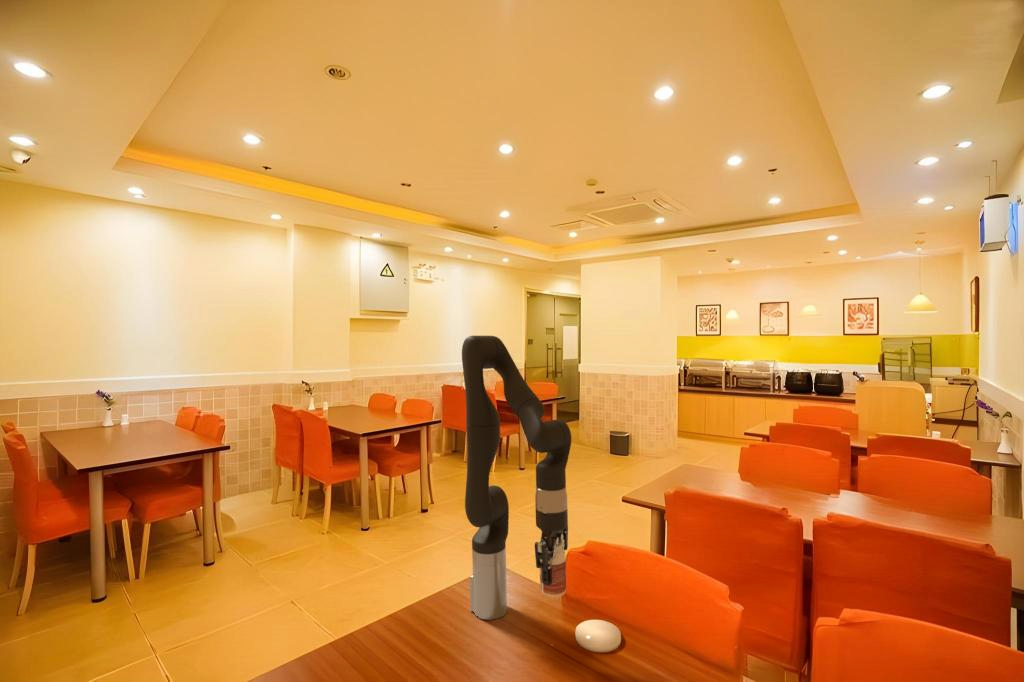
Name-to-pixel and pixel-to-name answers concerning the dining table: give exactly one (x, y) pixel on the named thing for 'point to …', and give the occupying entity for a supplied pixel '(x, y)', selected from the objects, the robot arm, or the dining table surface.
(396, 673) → the dining table surface
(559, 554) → the pill bottle
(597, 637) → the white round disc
